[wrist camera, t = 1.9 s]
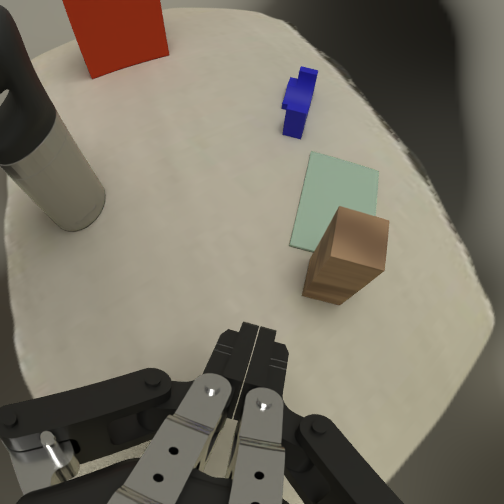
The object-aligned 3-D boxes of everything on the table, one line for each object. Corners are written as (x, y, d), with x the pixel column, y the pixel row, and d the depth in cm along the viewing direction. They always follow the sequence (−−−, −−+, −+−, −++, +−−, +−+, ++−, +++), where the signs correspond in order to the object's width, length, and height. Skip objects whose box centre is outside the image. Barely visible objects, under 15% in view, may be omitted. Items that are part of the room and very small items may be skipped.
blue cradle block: (288, 89, 53) (292, 64, 48) (312, 95, 53) (318, 70, 47) (273, 133, 49) (276, 106, 43) (300, 139, 49) (306, 113, 43)
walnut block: (339, 305, 39) (384, 270, 26) (301, 295, 39) (330, 255, 26) (346, 268, 41) (389, 220, 28) (309, 259, 41) (339, 205, 28)
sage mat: (368, 267, 41) (369, 266, 41) (289, 245, 42) (289, 244, 41) (377, 172, 47) (378, 171, 46) (310, 153, 47) (311, 151, 47)
